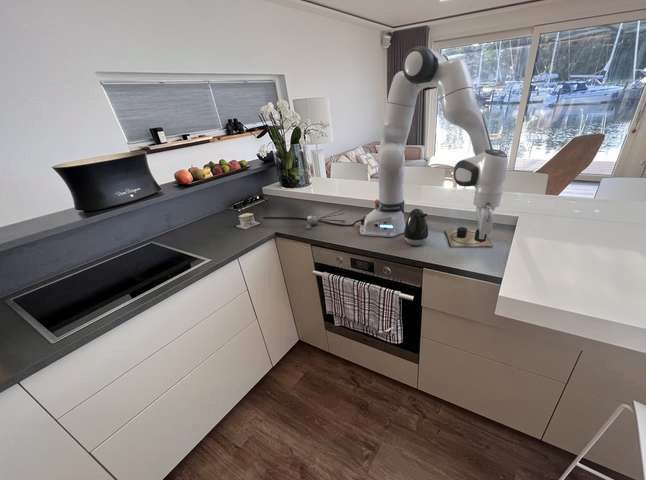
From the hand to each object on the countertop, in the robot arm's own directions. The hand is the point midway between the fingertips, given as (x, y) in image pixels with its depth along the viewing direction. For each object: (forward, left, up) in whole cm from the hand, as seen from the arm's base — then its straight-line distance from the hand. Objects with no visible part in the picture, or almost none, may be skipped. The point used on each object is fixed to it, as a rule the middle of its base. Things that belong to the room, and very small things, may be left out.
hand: (480, 235), depth 107 cm
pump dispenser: (-23, +10, -8) cm, 27 cm away
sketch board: (-1, +14, -8) cm, 16 cm away
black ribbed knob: (-3, +16, -7) cm, 18 cm away
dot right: (0, 0, -2) cm, 2 cm away
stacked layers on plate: (-112, +33, -8) cm, 117 cm away
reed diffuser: (-68, +33, -8) cm, 76 cm away
